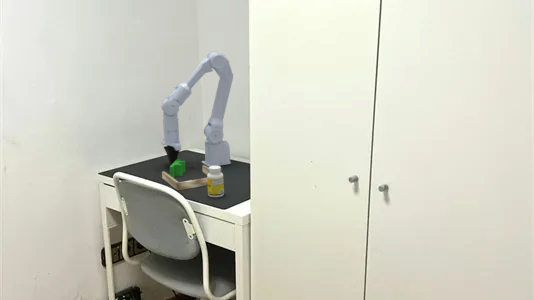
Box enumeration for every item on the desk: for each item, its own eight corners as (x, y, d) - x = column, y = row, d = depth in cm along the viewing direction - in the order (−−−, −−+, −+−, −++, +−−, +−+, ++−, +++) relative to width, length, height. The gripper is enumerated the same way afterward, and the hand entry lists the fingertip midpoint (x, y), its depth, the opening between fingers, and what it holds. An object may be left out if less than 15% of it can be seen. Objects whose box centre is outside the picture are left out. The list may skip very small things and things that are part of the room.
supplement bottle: (207, 192, 196) (206, 165, 194) (223, 192, 197) (223, 164, 194) (207, 198, 191) (206, 169, 189) (224, 197, 192) (223, 169, 189)
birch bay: (205, 171, 220) (204, 164, 220) (222, 182, 207) (222, 175, 206) (162, 178, 212) (161, 171, 212) (177, 190, 199) (177, 183, 198)
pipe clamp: (179, 179, 212) (179, 167, 211) (170, 178, 213) (169, 166, 212) (187, 169, 223) (187, 158, 222) (178, 169, 224) (177, 158, 222)
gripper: (155, 127, 227) (157, 161, 230) (167, 135, 215) (169, 170, 218) (172, 125, 230) (173, 158, 234) (185, 133, 218) (187, 167, 221)
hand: (172, 164), depth 226 cm, fingers closed
